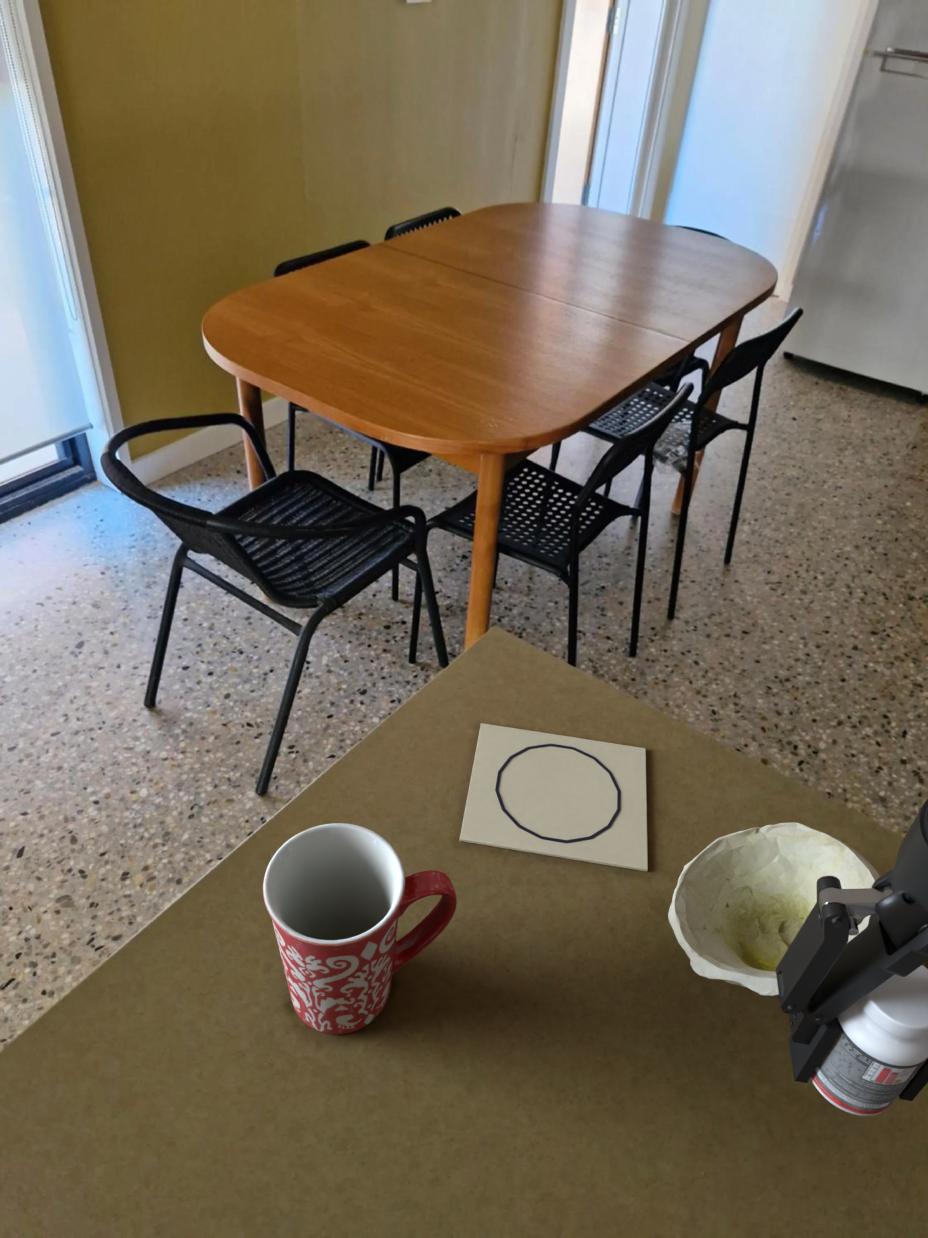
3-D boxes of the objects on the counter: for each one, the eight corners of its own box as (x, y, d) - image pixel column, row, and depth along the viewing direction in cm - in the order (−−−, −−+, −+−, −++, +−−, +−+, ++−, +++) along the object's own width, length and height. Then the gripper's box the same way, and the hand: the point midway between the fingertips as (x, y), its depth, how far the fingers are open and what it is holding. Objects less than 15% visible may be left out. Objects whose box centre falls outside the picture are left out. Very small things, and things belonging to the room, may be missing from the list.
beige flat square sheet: (647, 872, 75) (647, 869, 74) (459, 841, 76) (459, 838, 76) (645, 750, 85) (645, 747, 85) (480, 725, 87) (481, 722, 86)
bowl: (673, 851, 76) (701, 774, 70) (842, 901, 74) (886, 825, 67) (647, 1010, 65) (677, 935, 59) (844, 1077, 62) (898, 1005, 56)
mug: (278, 1059, 61) (263, 953, 52) (274, 940, 67) (261, 829, 59) (459, 1031, 63) (473, 926, 55) (438, 919, 70) (448, 809, 61)
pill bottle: (909, 1120, 54) (976, 1041, 48) (817, 1118, 54) (873, 1038, 48) (874, 1028, 59) (931, 945, 53) (790, 1026, 59) (837, 942, 53)
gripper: (1177, 807, 44) (982, 1037, 59) (795, 752, 46) (696, 989, 60) (1261, 941, 38) (1022, 1160, 53) (820, 873, 40) (704, 1104, 54)
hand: (849, 1069), depth 56 cm, fingers closed on pill bottle, 6 cm apart
